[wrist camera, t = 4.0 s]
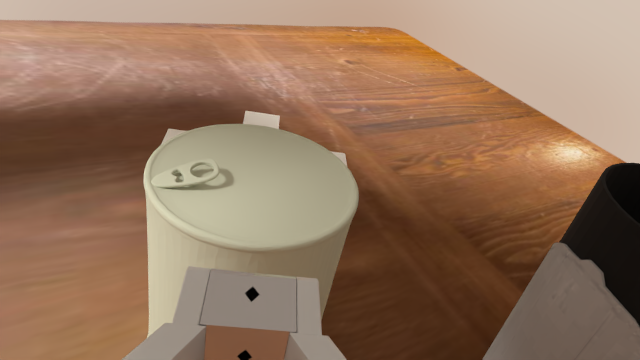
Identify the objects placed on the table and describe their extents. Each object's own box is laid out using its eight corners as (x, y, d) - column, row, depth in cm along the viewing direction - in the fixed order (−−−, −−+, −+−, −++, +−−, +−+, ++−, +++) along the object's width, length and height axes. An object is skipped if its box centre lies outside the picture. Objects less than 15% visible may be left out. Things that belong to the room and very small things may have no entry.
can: (136, 296, 28) (129, 115, 21) (282, 271, 32) (314, 112, 25) (159, 449, 21) (160, 255, 15) (339, 393, 25) (403, 221, 19)
